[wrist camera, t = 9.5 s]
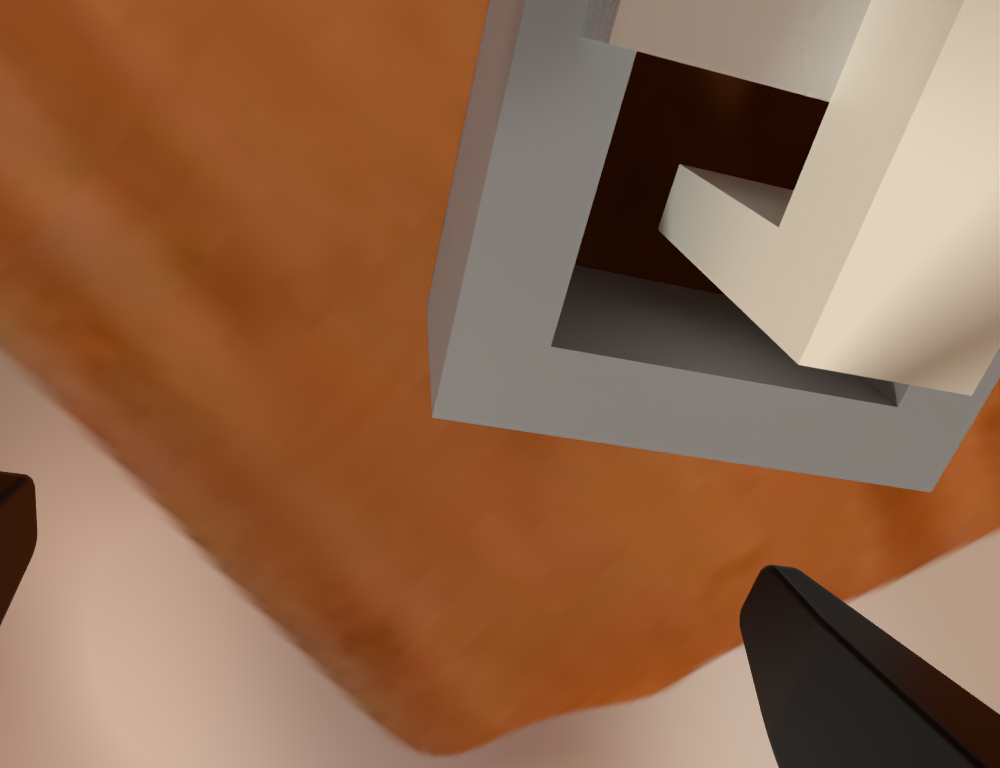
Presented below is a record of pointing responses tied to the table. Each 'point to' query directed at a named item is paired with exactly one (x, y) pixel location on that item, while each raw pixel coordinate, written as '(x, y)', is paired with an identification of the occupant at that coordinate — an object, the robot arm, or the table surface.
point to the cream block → (875, 209)
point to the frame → (626, 299)
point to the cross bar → (739, 37)
